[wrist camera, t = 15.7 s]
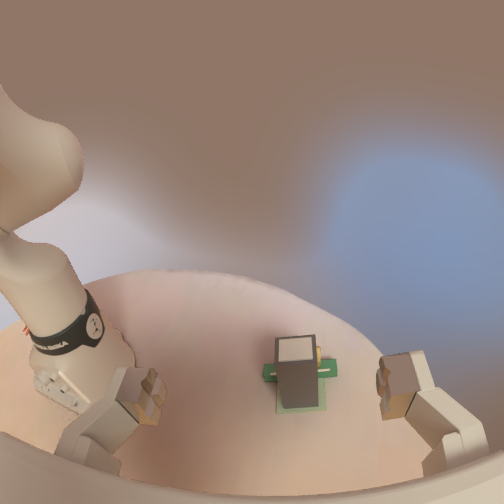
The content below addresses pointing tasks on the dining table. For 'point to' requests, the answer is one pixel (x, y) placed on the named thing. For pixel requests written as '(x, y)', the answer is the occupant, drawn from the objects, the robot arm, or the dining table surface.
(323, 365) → the header strip
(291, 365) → the block
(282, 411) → the pad
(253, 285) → the dining table surface
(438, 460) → the robot arm
